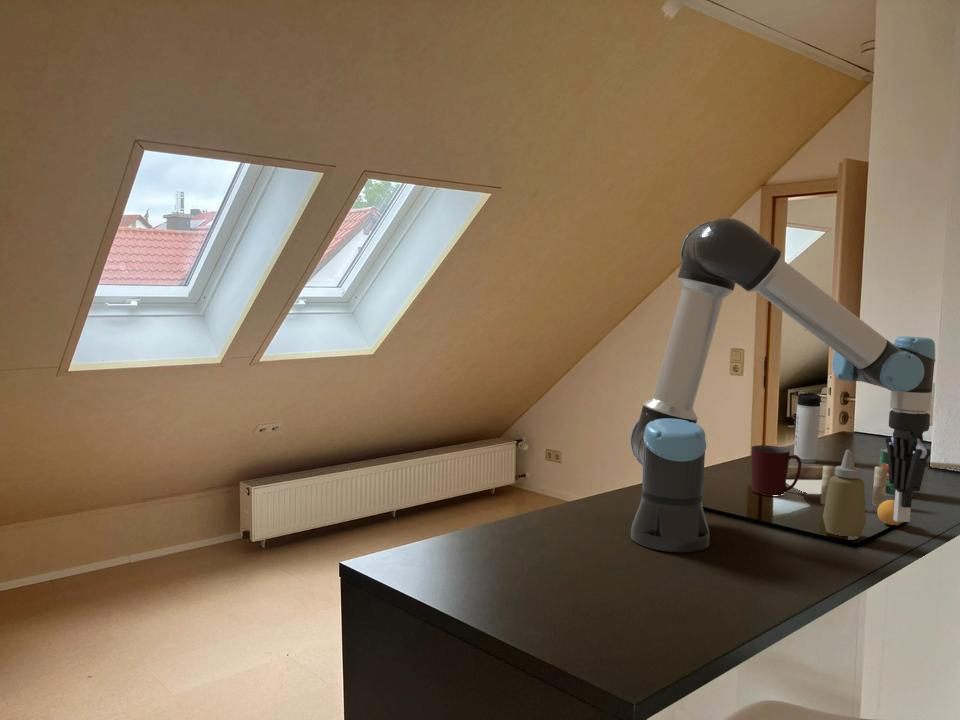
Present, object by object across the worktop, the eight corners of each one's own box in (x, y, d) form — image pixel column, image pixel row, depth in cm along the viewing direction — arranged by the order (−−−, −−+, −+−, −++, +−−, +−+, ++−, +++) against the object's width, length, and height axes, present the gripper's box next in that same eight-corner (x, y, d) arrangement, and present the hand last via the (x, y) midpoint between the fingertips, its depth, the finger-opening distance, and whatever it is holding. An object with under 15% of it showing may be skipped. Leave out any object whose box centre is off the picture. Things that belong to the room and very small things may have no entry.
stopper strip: (774, 478, 212) (774, 467, 212) (770, 476, 214) (771, 465, 214) (832, 479, 213) (833, 468, 213) (828, 477, 215) (829, 466, 215)
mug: (805, 495, 195) (808, 451, 194) (791, 502, 188) (794, 456, 187) (758, 486, 203) (760, 443, 202) (742, 492, 197) (745, 448, 196)
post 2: (875, 506, 187) (878, 468, 186) (869, 503, 189) (872, 466, 188) (886, 506, 187) (889, 469, 186) (880, 503, 190) (883, 466, 189)
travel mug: (818, 460, 236) (822, 393, 234) (814, 464, 231) (819, 395, 229) (796, 457, 240) (800, 391, 238) (791, 461, 234) (796, 393, 232)
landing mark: (805, 494, 196) (805, 493, 196) (781, 480, 210) (781, 479, 210) (860, 494, 197) (860, 494, 197) (832, 480, 211) (832, 480, 211)
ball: (885, 529, 169) (887, 503, 169) (871, 521, 175) (873, 496, 174) (910, 529, 169) (912, 503, 169) (895, 521, 175) (897, 497, 174)
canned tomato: (881, 495, 197) (885, 452, 196) (874, 488, 204) (877, 446, 203) (916, 498, 195) (920, 454, 194) (907, 490, 203) (911, 448, 202)
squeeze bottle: (869, 545, 158) (876, 456, 156) (826, 541, 160) (832, 453, 158) (858, 532, 166) (865, 447, 164) (817, 529, 168) (823, 445, 166)
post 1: (823, 506, 186) (826, 468, 185) (818, 502, 189) (820, 465, 188) (834, 506, 186) (837, 468, 185) (829, 503, 189) (831, 465, 188)
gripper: (946, 416, 160) (937, 530, 162) (910, 406, 173) (901, 512, 175) (909, 415, 160) (900, 530, 162) (875, 405, 173) (868, 511, 175)
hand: (901, 520), depth 168 cm, fingers closed
